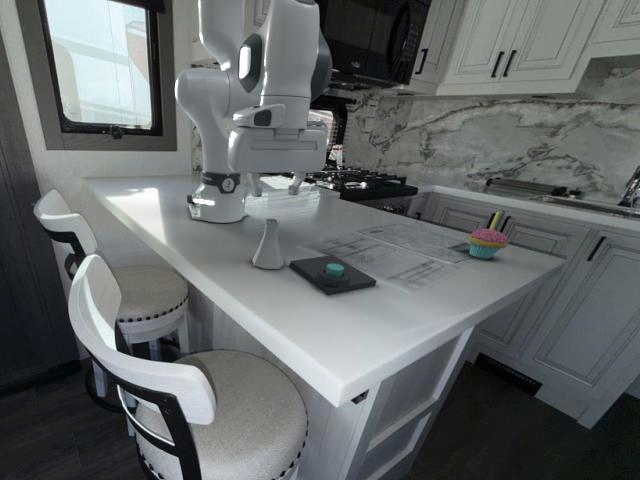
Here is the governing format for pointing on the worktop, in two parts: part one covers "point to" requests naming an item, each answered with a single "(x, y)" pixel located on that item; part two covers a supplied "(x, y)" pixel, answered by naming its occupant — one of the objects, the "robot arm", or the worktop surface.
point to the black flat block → (330, 285)
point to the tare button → (334, 270)
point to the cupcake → (487, 241)
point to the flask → (269, 248)
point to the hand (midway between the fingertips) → (275, 195)
